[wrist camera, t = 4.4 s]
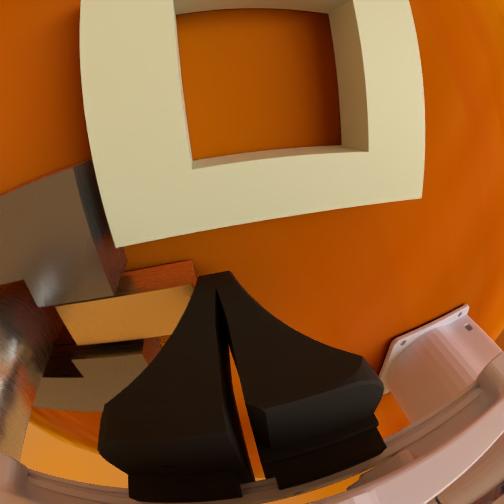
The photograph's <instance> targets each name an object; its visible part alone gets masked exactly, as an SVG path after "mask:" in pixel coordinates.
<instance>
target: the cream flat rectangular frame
mask: <svg viewBox="0 0 504 504" xmlns="http://www.w3.org/2000/svg"><path fill="white" fill-rule="evenodd" d="M239 8H271V9H290V10H301V11H311V12H319V13H326V14H328V15H329V21H330V27H331V33H332V40H333V47H334V55H335V63H336V72H337V81H338V92H339V105H340V120H341V141H342V145H330V146H311V147H297V148H285V149H274V150H265V151H256V152H248V153H240V154H233V155H226V156H219V157H213V158H206V159H200V160H195V161H192V154H191V147H190V141H189V134H188V126H187V119H186V111H185V103H184V95H183V87H182V78H181V69H180V59H179V49H178V38H177V26H176V15H178V14H184V13H191V12H199V11H208V10H220V9H239ZM80 68H81V83H82V94H83V103H84V111H85V119H86V126H87V132H88V138H89V144H90V149H91V155H92V160H93V164H94V169H95V174H96V178H97V183H98V187H99V191H100V195H101V199H102V203H103V206H104V210H105V214H106V217H107V221H108V224H109V228H110V231H111V234H112V237H113V241H114V244H115V247H116V248H118V247H123V246H128V245H133V244H138V243H143V242H148V241H153V240H158V239H163V238H168V237H173V236H178V235H183V234H189V233H194V232H199V231H205V230H210V229H216V228H221V227H227V226H233V225H239V224H244V223H250V222H256V221H262V220H268V219H274V218H281V217H287V216H293V215H300V214H306V213H313V212H320V211H326V210H333V209H340V208H348V207H355V206H362V205H370V204H377V203H385V202H393V201H401V200H410V199H418V198H422V189H423V176H424V159H425V107H424V90H423V79H422V69H421V61H420V54H419V47H418V41H417V36H416V30H415V25H414V21H413V16H412V12H411V8H410V4H409V0H81V7H80Z"/></svg>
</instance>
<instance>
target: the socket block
mask: <svg viewBox="0 0 504 504" xmlns="http://www.w3.org/2000/svg"><path fill="white" fill-rule="evenodd" d="M126 263H127V259H126V256H125V253H124V250H123V247H118V248H116V247H115V244H114V241H113V237H112V234H111V231H110V228H109V224H108V221H107V217H106V214H105V210H104V206H103V203H102V199H101V195H100V191H99V187H98V183H97V178H96V174H95V169H94V164H93V160H92V158H91V159H88V160H85V161H82V162H79V163H76V164H73V165H70V166H67V167H65V168H62V169H59V170H56V171H54V172H51V173H49V174H46V175H43V176H41V177H39V178H36V179H34V180H31V181H29V182H27V183H24V184H22V185H20V186H18V187H15V188H13V189H11V190H9V191H7V192H5V193H3V194H1V195H0V285H2V284H6V283H11V282H15V281H20V280H25V282H26V284H27V287H28V289H29V291H30V293H31V295H32V296H33V298H34V300H35V302H36V304H37V306H38V307H44V306H51V305H58V304H64V303H71V302H77V301H84V300H90V299H96V298H102V297H108V296H114V294H115V292H116V289H117V286H118V283H119V281H120V278H121V275H122V273H123V270H124V268H125V265H126ZM161 349H162V347H161V345H160V343H159V341H158V338H157V337H150V338H143V339H135V340H127V341H118V342H109V343H99V344H88V345H77V344H67V345H54V348H53V350H52V353H51V355H50V358H49V360H48V363H47V366H46V368H45V371H44V374H43V376H42V379H41V382H40V385H39V388H38V391H37V394H36V397H35V401H34V404H33V407H39V408H47V409H57V410H70V411H92V412H103V409H104V405H105V404H106V403H107V402H109V401H110V400H111V399H112V398H114V397H115V396H116V395H117V394H118V393H120V392H121V391H122V390H123V389H125V388H126V387H127V386H128V385H129V384H130V383H131V382H132V381H133V380H134V379H135V378H136V377H137V376H139V375H140V374H141V372H142V371H143V370H144V369H145V368H146V367H147V366H148V365H149V364H150V363H151V362H152V360H153V359H154V358H155V357H156V355H157V354H158V353H159V351H160V350H161Z"/></svg>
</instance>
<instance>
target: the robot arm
mask: <svg viewBox="0 0 504 504" xmlns="http://www.w3.org/2000/svg"><path fill="white" fill-rule="evenodd" d="M468 310H469V306H468V305H467V304H465V305H463V306H462V307H460V308H458V309H456V310H454V311H452V312H450V313H448V314H447V315H445V316H443V317H441V318H439V319H437V320H435V321H432V322H430V323H428V324H426V325H424V326H422V327H420V328H418V329H415V330H413V331H411V332H409V333H406V334H404V335H402V336H399V337H397V338H395V339H394V340H393V341H392V342H391V344H390V347H389V350H388V353H387V355H386V358H385V361H384V363H383V366H382V369H381V371H380V374H379V376H378V375H377V373H376V372H375V371H374V369H373V368H372V367H371V366H370V365H369V364H368V362H367V361H366V360H365V359H364V358H363V357H362V356H360V355H356V354H353V353H349V352H346V351H343V350H339V349H336V348H333V347H330V346H328V345H325V344H323V343H320V342H318V341H316V340H313V339H311V338H309V337H307V336H306V335H304V334H302V333H300V332H298V331H296V330H294V329H292V328H291V327H289V326H288V325H286V324H284V323H283V322H282V321H280V320H279V319H277V318H276V317H274V316H273V315H272V314H270V313H269V312H268V311H267V310H266V309H264V308H263V307H262V306H261V305H260V304H259V303H258V302H256V301H255V300H254V299H253V298H252V297H251V296H250V295H249V294H248V293H247V292H246V291H245V289H244V288H243V287H242V286H241V285H240V284H239V282H238V281H237V280H236V278H235V277H234V275H233V274H232V272H230V271H225V272H220V273H214V274H209V275H203V276H199V277H198V279H197V282H196V285H195V288H194V291H193V293H192V296H191V298H190V300H189V302H188V305H187V307H186V309H185V311H184V313H183V315H182V317H181V319H180V321H179V322H178V324H177V326H176V328H175V329H174V331H173V333H172V334H171V336H170V337H169V339H168V340H167V342H166V343H165V345H164V346H163V348H162V349H161V350H160V351H159V353H158V354H157V355H156V357H155V358H154V359H153V360H152V362H151V363H150V364H149V365H148V366H147V367H146V368H145V369H144V370H143V371H142V372H141V374H140V375H139V376H137V377H136V378H135V379H134V380H133V381H132V382H131V383H130V384H129V385H128V386H127V387H126V388H125V389H123V390H122V391H121V392H120V393H118V394H117V395H116V396H115V397H114V398H112V399H111V400H110V401H109V402H107V403H106V404H105V405H104V409H103V413H102V417H101V422H100V430H99V439H98V451H99V453H100V455H101V456H102V457H103V458H104V459H105V460H107V461H108V462H109V463H111V464H112V465H114V466H115V467H117V468H119V469H120V470H122V471H123V472H125V473H127V474H128V488H117V487H108V486H100V485H94V484H88V483H83V482H77V481H72V480H68V479H63V478H59V477H55V476H51V475H48V474H44V473H41V472H37V471H34V470H31V469H28V468H27V467H26V466H24V465H23V464H22V463H20V462H19V461H17V460H15V459H13V458H11V457H9V456H6V455H4V454H1V453H0V504H262V503H267V502H272V501H276V500H281V499H285V498H288V497H293V496H296V495H300V494H304V493H307V492H310V491H314V490H317V489H320V488H323V487H326V486H329V485H332V484H334V483H337V482H340V481H342V480H345V479H348V478H350V477H353V476H355V475H357V474H360V473H362V472H364V471H366V470H368V469H371V468H373V467H374V468H373V469H371V470H369V471H368V472H365V473H363V474H361V475H360V478H359V480H358V481H357V482H355V483H354V484H353V485H351V486H350V487H348V488H347V491H345V492H342V493H339V494H336V495H333V496H330V497H327V498H324V499H321V500H318V501H314V502H310V503H307V504H504V352H503V351H502V350H501V349H500V348H499V347H498V346H497V344H496V343H495V342H494V341H493V340H492V339H491V338H490V337H489V336H488V335H487V334H486V333H485V332H484V331H483V330H482V329H481V328H480V327H479V326H478V325H477V324H476V323H475V322H474V321H473V320H472V319H471V318H470V317H469V316H468V315H467V313H468ZM228 344H229V345H228ZM229 347H230V350H231V353H232V356H233V359H234V362H235V365H236V368H237V371H238V374H239V377H240V382H241V386H242V391H243V395H244V400H245V404H246V408H247V412H248V416H249V420H250V423H251V427H252V431H253V435H254V438H255V442H256V446H257V450H258V453H259V457H260V461H261V465H262V468H263V471H264V474H265V478H266V479H265V480H259V481H255V478H254V474H253V470H252V467H251V463H250V459H249V455H248V452H247V448H246V444H245V440H244V436H243V431H242V427H241V423H240V419H239V414H238V410H237V405H236V401H235V396H234V392H233V385H232V377H231V367H230V356H229ZM388 392H391V394H392V395H393V397H394V398H395V400H396V401H397V403H398V405H399V406H400V408H401V409H402V411H403V413H404V414H405V416H406V417H407V419H408V421H409V422H410V424H411V425H409V426H407V427H405V428H403V429H401V430H400V431H398V432H396V433H394V434H392V435H390V436H388V437H386V438H384V439H382V437H381V435H380V433H379V431H378V429H377V428H376V427H377V426H378V425H379V423H378V420H377V419H376V417H375V415H374V412H375V410H376V408H377V406H378V404H379V402H380V400H381V398H382V396H383V394H385V393H388ZM379 464H380V465H379ZM377 465H378V466H377ZM375 466H376V467H375Z"/></svg>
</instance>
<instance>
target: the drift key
mask: <svg viewBox="0 0 504 504" xmlns="http://www.w3.org/2000/svg"><path fill="white" fill-rule="evenodd" d="M196 282H197V279H196V275H195V271H194V267H193V262H192V260H188V261H183V262H178V263H172V264H167V265H161V266H156V267H151V268H145V269H140V270H135V271H129V272H124V273H122V275H121V278H120V281H119V283H118V286H117V289H116V292H115V294H114V296H108V297H102V298H96V299H90V300H84V301H77V302H71V303H64V304H58V305H56V306H55V308H56V310H57V312H58V313H59V315H60V317H61V319H62V320H63V322H64V324H65V326H66V327H67V329H68V331H69V332H70V334H71V336H72V337H73V339H74V341H75V342H76V344H77V345H88V344H99V343H109V342H118V341H127V340H135V339H143V338H150V337H158V336H165V335H171V334H172V333H173V331H174V329H175V328H176V326H177V324H178V322H179V321H180V319H181V317H182V315H183V313H184V311H185V309H186V307H187V305H188V302H189V300H190V298H191V296H192V293H193V291H194V288H195V285H196Z"/></svg>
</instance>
